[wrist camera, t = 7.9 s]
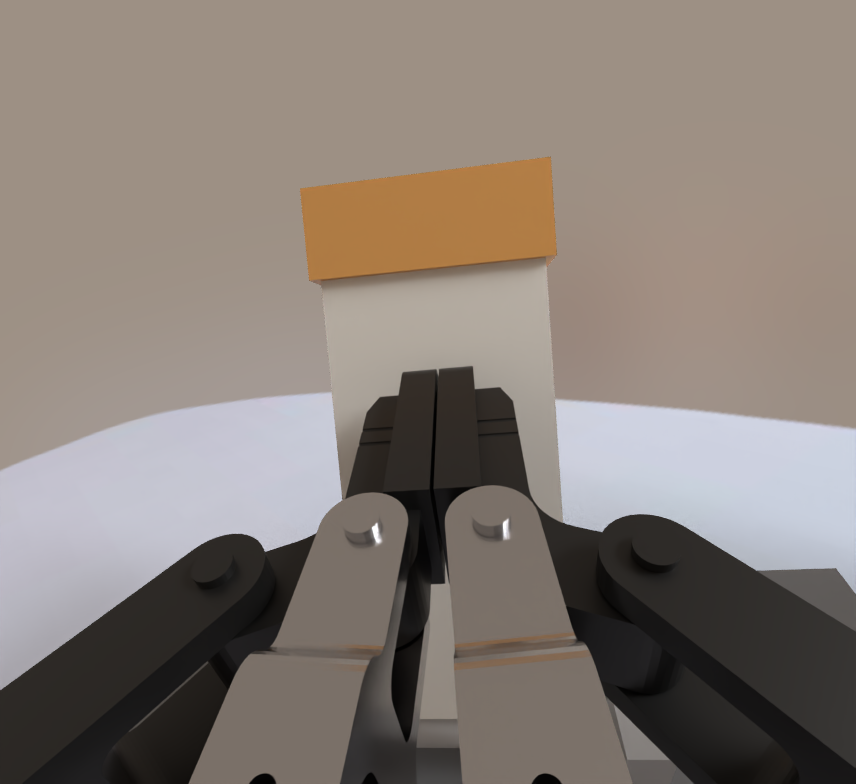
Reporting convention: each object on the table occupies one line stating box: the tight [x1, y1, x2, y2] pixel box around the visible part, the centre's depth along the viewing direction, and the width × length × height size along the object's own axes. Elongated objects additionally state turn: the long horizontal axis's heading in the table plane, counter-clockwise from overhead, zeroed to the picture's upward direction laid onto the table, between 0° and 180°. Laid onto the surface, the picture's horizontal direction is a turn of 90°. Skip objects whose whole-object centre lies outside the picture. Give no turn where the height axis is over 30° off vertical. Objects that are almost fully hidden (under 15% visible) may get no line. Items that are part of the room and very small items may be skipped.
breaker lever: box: [300, 157, 563, 748], centre depth 12 cm, size 2×6×14 cm
